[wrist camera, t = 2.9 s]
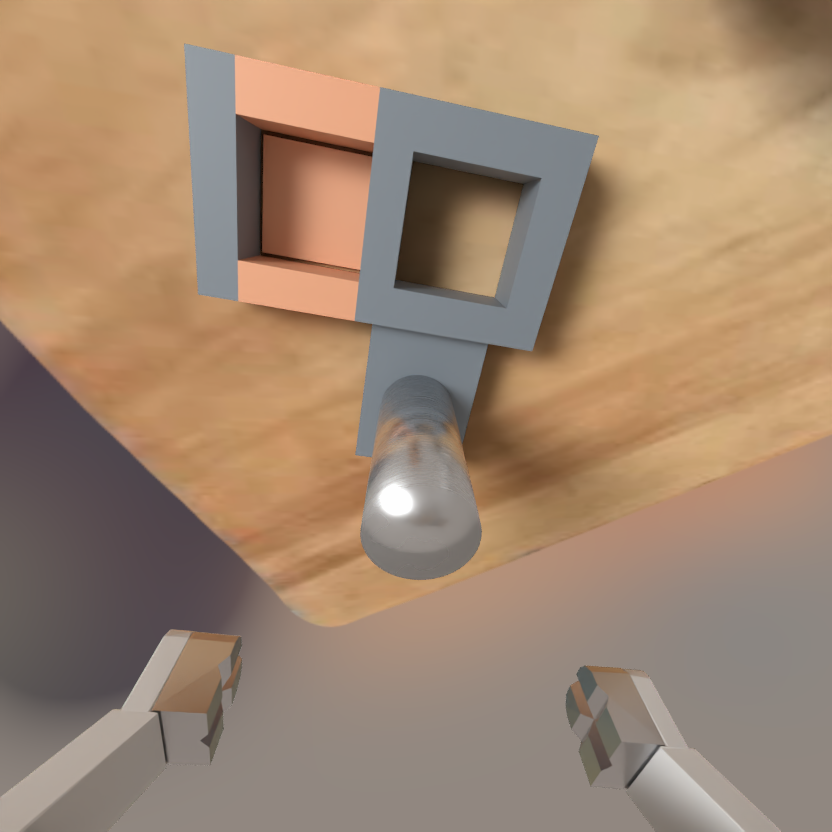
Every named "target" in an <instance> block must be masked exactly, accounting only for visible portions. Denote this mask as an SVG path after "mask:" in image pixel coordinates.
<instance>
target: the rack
mask: <svg viewBox="0 0 832 832" xmlns="http://www.w3.org/2000/svg"><path fill="white" fill-rule="evenodd" d="M184 49H185V67H186V85H187V102H188V120H189V138H190V156H191V174H192V192H193V210H194V228H195V246H196V264H197V282H198V294H199V295H205V296H211V297H217V298H223V299H229V300H234V301H240V302H246V303H252V304H258V305H264V306H270V307H275V308H281V309H287V310H293V311H299V312H305V313H311V314H316V315H322V316H328V317H334V318H340V319H346V320H351V321H357V322H363V323H369V324H372V331H371V339H370V346H369V354H368V362H367V370H366V377H365V385H364V393H363V401H362V408H361V416H360V424H359V432H358V439H357V447H356V455H359V456H366V457H372V455H373V448H374V442H375V436H376V430H377V423H378V417H379V411H380V404H381V400H382V397H383V395H384V393H385V391H386V390H387V388H388V387H389V386H390V385H391V384H392V383H394V382H395V381H397V380H398V379H400V378H403V377H406V376H410V375H423V376H428V377H431V378H433V379H435V380H437V381H438V382H440V383H441V384H442V385H443V386H444V387H445V388H446V389H447V391H448V392H449V394H450V397H451V400H452V404H453V408H454V412H455V416H456V421H457V425H458V429H459V433H460V438H461V442H462V443H463V440H464V436H465V432H466V428H467V424H468V420H469V416H470V412H471V409H472V405H473V401H474V397H475V393H476V389H477V385H478V382H479V378H480V374H481V370H482V366H483V362H484V358H485V354H486V351H487V347H488V344H492V345H498V346H504V347H510V348H515V349H521V350H527V351H532V350H533V347H534V344H535V341H536V338H537V334H538V331H539V328H540V325H541V321H542V318H543V315H544V312H545V308H546V305H547V302H548V299H549V295H550V292H551V289H552V286H553V283H554V279H555V276H556V273H557V270H558V266H559V263H560V260H561V257H562V253H563V250H564V247H565V244H566V241H567V237H568V234H569V231H570V228H571V224H572V221H573V218H574V215H575V211H576V208H577V205H578V202H579V198H580V195H581V192H582V189H583V186H584V182H585V179H586V176H587V173H588V169H589V166H590V163H591V160H592V156H593V153H594V150H595V147H596V144H597V140H598V137H599V136H597V135H592V134H588V133H583V132H579V131H574V130H570V129H565V128H561V127H556V126H552V125H547V124H543V123H538V122H534V121H529V120H525V119H521V118H516V117H512V116H507V115H503V114H498V113H494V112H489V111H485V110H480V109H476V108H471V107H467V106H462V105H458V104H453V103H449V102H444V101H440V100H435V99H431V98H426V97H422V96H417V95H413V94H408V93H404V92H399V91H395V90H390V89H386V88H381V87H377V86H372V85H368V84H364V83H359V82H355V81H350V80H346V79H341V78H337V77H332V76H328V75H323V74H319V73H314V72H310V71H305V70H301V69H296V68H292V67H287V66H283V65H278V64H274V63H269V62H265V61H260V60H256V59H251V58H247V57H242V56H238V55H233V54H229V53H224V52H220V51H215V50H211V49H206V48H202V47H198V46H193V45H189V44H184ZM261 130H266V131H271V132H276V133H281V134H285V135H290V136H295V137H300V138H305V139H309V140H314V141H319V142H324V143H329V144H333V145H338V146H343V147H348V148H353V149H357V150H362V151H367V152H372V153H373V157H370V156H366V155H361V154H356V153H351V152H346V151H341V150H337V149H332V148H327V147H322V146H317V145H312V144H308V143H303V142H298V141H293V140H288V139H283V138H279V137H274V136H269V135H264V134H263V230H262V252H264V253H270V254H275V255H281V256H286V257H292V258H297V259H303V260H308V261H314V262H319V263H325V264H330V265H336V266H341V267H347V268H352V269H358V270H360V273H356V272H350V271H345V270H339V269H334V268H328V267H323V266H317V265H312V264H306V263H301V262H295V261H290V260H284V259H279V258H273V257H268V256H262V255H260V216H261ZM413 161H415V162H420V163H425V164H429V165H434V166H439V167H444V168H449V169H453V170H458V171H463V172H468V173H473V174H477V175H482V176H487V177H492V178H497V179H501V180H506V181H511V182H516V183H521V184H523V188H522V192H521V196H520V200H519V204H518V208H517V212H516V216H515V220H514V224H513V228H512V232H511V236H510V240H509V244H508V248H507V251H506V255H505V259H504V263H503V267H502V271H501V275H500V279H499V283H498V287H497V291H496V295H495V298H494V297H488V296H483V295H477V294H472V293H466V292H461V291H455V290H450V289H444V288H439V287H433V286H427V285H422V284H416V283H411V282H405V281H400V280H396V273H397V267H398V260H399V253H400V246H401V239H402V233H403V226H404V219H405V212H406V205H407V199H408V192H409V185H410V178H411V171H412V165H413Z"/></svg>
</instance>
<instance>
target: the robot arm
mask: <svg viewBox="0 0 832 832" xmlns="http://www.w3.org/2000/svg"><path fill="white" fill-rule="evenodd" d="M241 647H242V637H241V636H233V635H223V634H212V633H202V632H195V631H183V630H170V631H169V632H168V633H167V634H166V635H165V636H164V637H163V638H162V640H161V642H160V644H159V646H158V647H157V649H156V650H155V652H154V654H153V656H152V657H151V659H150V661H149V663H148V664H147V666H146V668H145V670H144V671H143V673H142V675H141V676H140V678H139V680H138V681H137V683H136V685H135V687H134V688H133V690H132V692H131V693H130V695H129V697H128V699H127V700H126V702H125V704H124V705H123V707H122V709H121V710H118V709H113V710H112V711H111V712H109V713H108V714H107V715H105V716H104V717H103V718H102V719H100V720H99V721H98V722H96V723H95V724H94V725H93V726H91V727H90V728H89V729H88V730H86V731H85V732H84V733H82V734H81V735H80V736H78V737H77V738H76V739H75V740H73V741H72V742H71V743H69V744H68V745H67V746H66V747H64V748H63V749H62V750H60V751H59V752H58V753H57V754H55V755H54V756H53V757H52V758H50V759H49V760H48V761H46V762H45V763H44V764H43V765H41V766H40V767H39V768H37V769H36V770H35V771H33V772H32V773H31V774H30V775H28V776H27V777H26V778H25V779H23V780H22V781H21V782H20V783H18V784H17V785H16V786H14V787H13V788H12V789H10V790H9V791H8V792H7V793H5V794H4V795H3V796H1V797H0V832H108V831H109V830H110V829H111V827H112V826H113V825H114V824H115V823H116V822H117V821H118V820H119V819H120V818H121V816H122V815H123V814H124V813H125V812H126V811H127V810H128V809H129V808H130V807H131V806H132V804H133V803H134V802H135V801H136V800H137V799H138V798H139V797H140V796H141V795H142V794H143V792H145V790H146V789H147V788H148V787H149V786H150V785H151V784H152V783H153V782H154V781H155V780H156V778H157V777H158V776H159V775H160V774H161V773H162V772H163V771H164V770H165V769H166V764H173V765H211V762H212V759H213V757H214V754H215V751H216V748H217V745H218V743H219V740H220V737H221V734H222V732H223V729H224V727H223V726H224V724H223V713H224V712H226V711H227V710H228V709H229V708H230V707H231V706H232V704H233V701H234V698H235V695H236V692H237V688H238V684H239V680H240V676H241V669H242V658H241V657H240V656H239V652H240V649H241ZM577 677H578V680H579V681H577V682H575V683H574V684H572V685H570V687H569V689H568V691H567V694H566V712H567V717H568V720H569V724H570V727H571V730H572V731H573V732H574V733H575V734H576V735H577V736H578V737H579V739H580V740H581V744H580V748H579V754H580V757H581V760H582V763H583V765H584V768H585V771H586V774H587V777H588V780H589V783H590V786H591V787H602V788H613V789H625V790H627V791H626V793H627V794H628V796H629V797H630V798H631V799H632V801H633V802H634V804H635V805H636V806H637V808H638V809H639V810H640V812H641V813H642V814H643V816H644V817H645V818H646V820H647V821H648V822H649V824H650V825H651V826H652V828H653V829H654V830H655V832H782V831H781V830H780V829H779V828H777V826H775V825H774V824H773V823H772V822H771V821H770V820H769V819H768V818H767V817H766V816H765V815H764V814H763V813H762V812H761V811H760V810H759V809H758V808H757V807H755V806H754V805H753V804H752V803H751V802H750V801H749V800H748V799H747V798H746V797H745V796H744V795H743V794H742V793H741V792H740V791H739V790H738V789H737V788H735V787H734V786H733V785H732V784H731V783H730V782H729V781H728V780H727V779H726V778H725V777H724V776H723V775H722V774H721V773H720V772H718V770H716V768H714V767H713V766H712V765H711V764H710V763H709V762H708V761H707V760H706V759H705V758H704V757H703V756H702V755H701V754H700V753H699V752H697V751H696V750H695V749H694V748H688V746H687V745H686V743H685V741H684V739H683V737H682V735H681V734H680V732H679V730H678V728H677V726H676V724H675V723H674V721H673V719H672V717H671V715H670V714H669V712H668V710H667V708H666V707H665V704H664V703H663V701H662V699H661V697H660V695H659V694H658V692H657V690H656V688H655V686H654V685H653V683H652V681H651V679H650V678H649V676H648V675H647V674H646V673H645V672H644V671H641V670H632V669H621V668H613V667H598V666H583V667H580V669H579V670H578V672H577Z"/></svg>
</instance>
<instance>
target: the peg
mask: <svg viewBox="0 0 832 832" xmlns="http://www.w3.org/2000/svg"><path fill="white" fill-rule="evenodd" d="M481 533H482V530H481V523H480V519H479V515H478V510H477V506H476V502H475V498H474V493H473V489H472V485H471V480H470V476H469V472H468V468H467V463H466V459H465V455H464V451H463V446H462V442H461V438H460V433H459V429H458V425H457V421H456V416H455V412H454V408H453V404H452V400H451V397H450V394H449V392H448V391H447V389H446V388H445V387H444V386H443V385H442V384H441V383H440V382H438V381H437V380H435V379H433V378H431V377H428V376H423V375H410V376H406V377H403V378H400V379H398V380H397V381H395V382H394V383H392V384H391V385H390V386H389V387H388V388H387V390H386V391H385V393H384V395H383V397H382V400H381V404H380V411H379V417H378V423H377V430H376V436H375V442H374V448H373V455H372V461H371V467H370V474H369V480H368V486H367V492H366V499H365V505H364V511H363V518H362V524H361V533H360V536H361V542H362V546H363V548H364V550H365V552H366V554H367V556H368V557H369V558H370V559H371V561H372V562H373V563H374V564H376V565H377V566H378V567H379V568H381V569H382V570H384V571H386V572H388V573H390V574H392V575H395V576H398V577H402V578H406V579H414V580H426V579H434V578H438V577H442V576H445V575H448V574H450V573H452V572H454V571H456V570H458V569H460V568H461V567H462V566H464V565H465V564H466V563H467V562H468V561H469V560H470V559H471V558H472V557H473V556H474V554H475V553H476V551H477V549H478V547H479V544H480V541H481Z"/></svg>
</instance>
